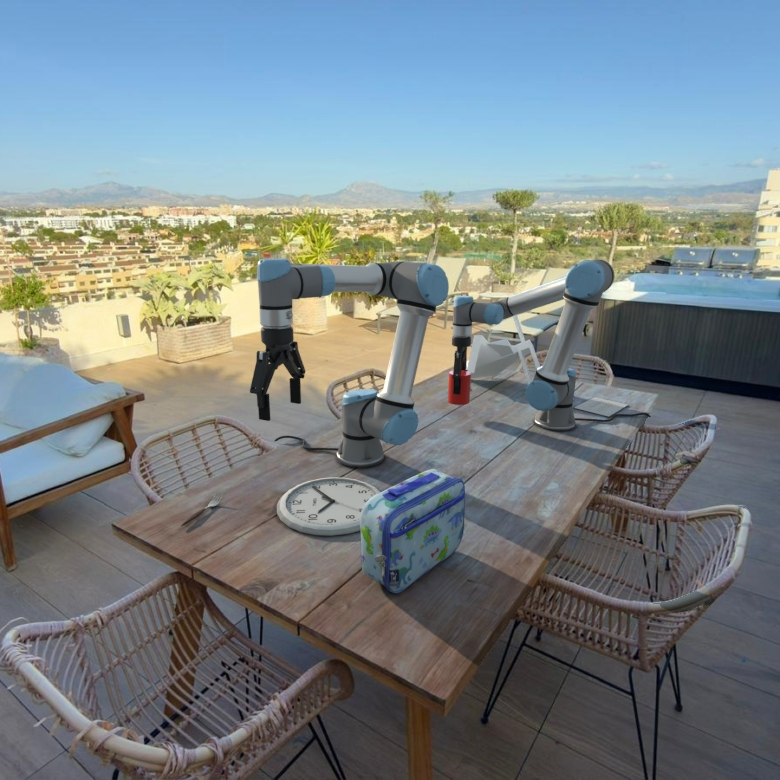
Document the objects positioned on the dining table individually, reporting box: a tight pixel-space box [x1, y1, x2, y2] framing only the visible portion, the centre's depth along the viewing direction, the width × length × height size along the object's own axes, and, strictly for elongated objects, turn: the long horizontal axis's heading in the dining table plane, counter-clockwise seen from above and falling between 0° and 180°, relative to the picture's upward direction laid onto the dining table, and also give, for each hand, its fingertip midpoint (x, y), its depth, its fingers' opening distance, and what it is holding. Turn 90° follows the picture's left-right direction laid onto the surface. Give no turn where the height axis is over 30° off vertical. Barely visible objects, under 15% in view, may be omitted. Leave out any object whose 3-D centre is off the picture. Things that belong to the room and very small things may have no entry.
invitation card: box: [573, 396, 629, 418], centre depth 226 cm, size 21×1×15 cm
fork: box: [180, 491, 225, 527], centre depth 138 cm, size 3×16×2 cm, turn 160°
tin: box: [447, 369, 472, 406], centre depth 212 cm, size 9×9×12 cm
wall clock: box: [276, 476, 382, 537], centre depth 142 cm, size 30×2×30 cm
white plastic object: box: [466, 314, 541, 386], centre depth 255 cm, size 37×45×31 cm
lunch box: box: [359, 468, 466, 594], centre depth 114 cm, size 26×11×21 cm, turn 134°
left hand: (280, 411), depth 130 cm, fingers open, 13 cm apart
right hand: (459, 390), depth 212 cm, fingers closed on tin, 9 cm apart
